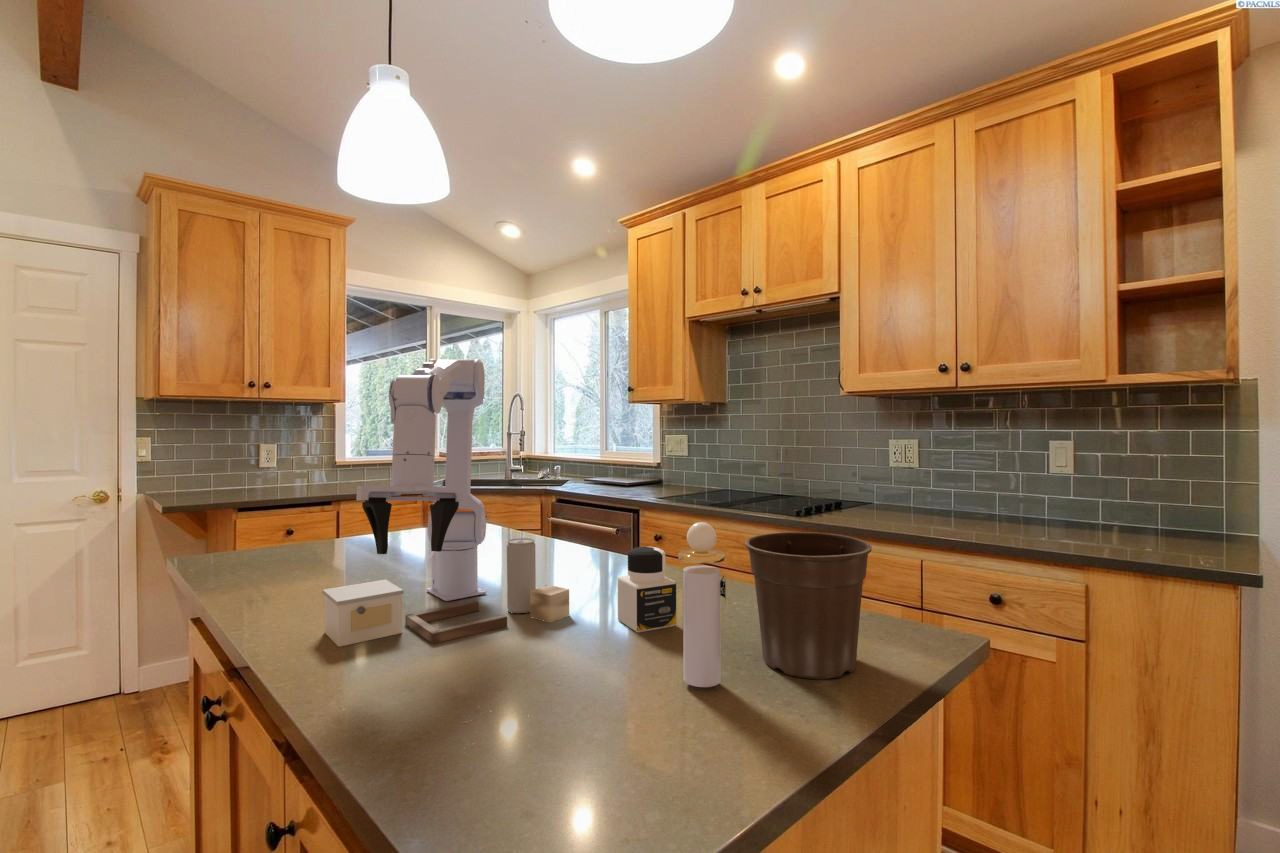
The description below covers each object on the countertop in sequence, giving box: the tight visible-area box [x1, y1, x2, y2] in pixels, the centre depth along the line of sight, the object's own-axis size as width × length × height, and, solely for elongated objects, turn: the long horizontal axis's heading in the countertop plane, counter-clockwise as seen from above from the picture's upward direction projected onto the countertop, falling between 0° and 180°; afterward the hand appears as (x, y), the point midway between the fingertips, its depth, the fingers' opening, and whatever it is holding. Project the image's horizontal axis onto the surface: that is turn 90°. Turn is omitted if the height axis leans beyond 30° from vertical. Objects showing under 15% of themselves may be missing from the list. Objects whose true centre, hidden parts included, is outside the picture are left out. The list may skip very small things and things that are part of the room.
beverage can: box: [506, 537, 537, 614], centre depth 105 cm, size 5×5×12 cm
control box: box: [322, 578, 404, 648], centre depth 94 cm, size 9×9×7 cm
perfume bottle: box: [677, 521, 726, 688], centre depth 75 cm, size 6×6×20 cm
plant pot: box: [744, 531, 873, 680], centre depth 82 cm, size 16×16×16 cm
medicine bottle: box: [617, 546, 677, 634], centre depth 98 cm, size 7×7×12 cm
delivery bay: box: [404, 600, 508, 645], centre depth 97 cm, size 11×12×2 cm
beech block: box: [530, 585, 570, 623], centre depth 102 cm, size 4×4×4 cm
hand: (409, 552), depth 86 cm, fingers open, 7 cm apart
